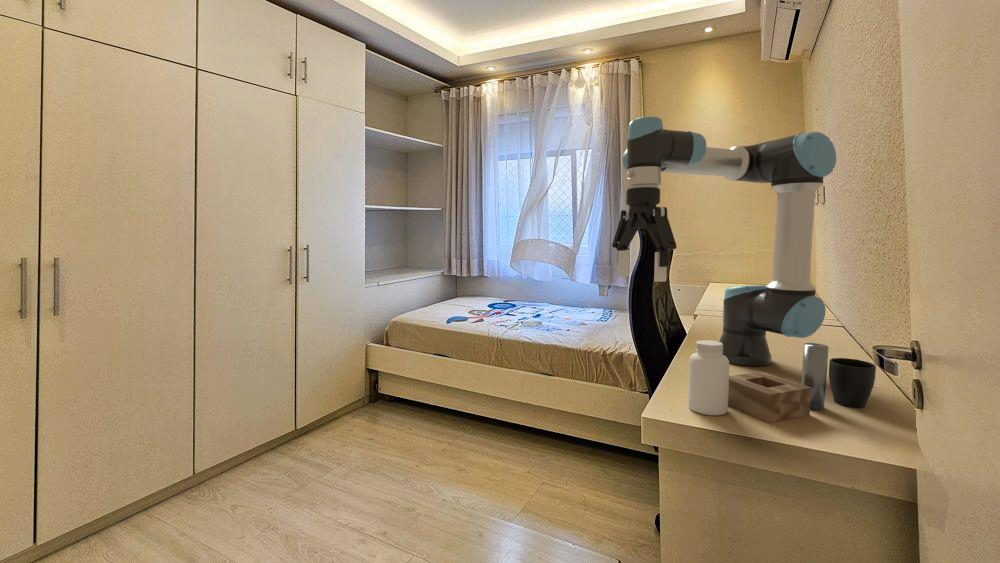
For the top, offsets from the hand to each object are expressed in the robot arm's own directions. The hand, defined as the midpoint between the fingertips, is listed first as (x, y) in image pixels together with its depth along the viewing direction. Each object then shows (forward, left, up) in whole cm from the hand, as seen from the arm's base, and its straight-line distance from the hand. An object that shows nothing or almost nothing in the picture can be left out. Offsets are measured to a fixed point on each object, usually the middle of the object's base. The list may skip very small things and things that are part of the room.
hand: (640, 279), depth 105 cm
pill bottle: (-8, +14, -28) cm, 32 cm away
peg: (-31, +21, -28) cm, 47 cm away
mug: (-43, +22, -28) cm, 55 cm away
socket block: (-20, +18, -28) cm, 39 cm away
